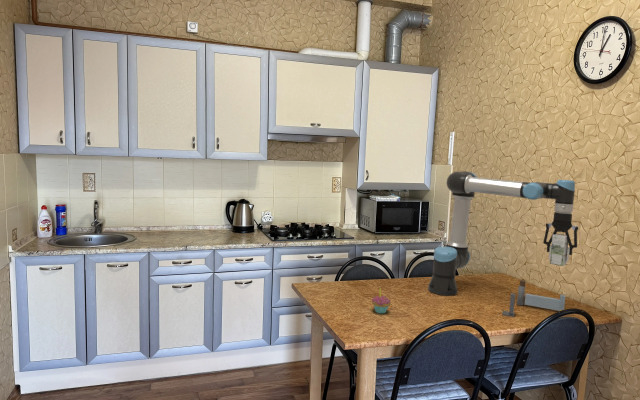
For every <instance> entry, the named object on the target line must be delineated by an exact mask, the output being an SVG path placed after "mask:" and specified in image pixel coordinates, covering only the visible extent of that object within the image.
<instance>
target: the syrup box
mask: <svg viewBox="0 0 640 400" xmlns="http://www.w3.org/2000/svg"><path fill="white" fill-rule="evenodd" d="M552 234H553V233H552ZM551 236H552V235H551ZM551 245H552V246H551V257H550V260H549V265H554V266H560V267H563V266H566V265H567V262H566V260H567V250H568V247H569V243H568V240H567V235H566V234H562V233H556V235H555V234H553V236H552V242H551Z"/></svg>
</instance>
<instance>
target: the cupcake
mask: <svg viewBox="0 0 640 400" xmlns="http://www.w3.org/2000/svg"><path fill="white" fill-rule="evenodd" d="M371 304H372V305H373V307H374V311H375V313H377V314H386V313H387V310H388V308H389V307H390V306H391V300H390V299H389V298H388V297H387V296H384V295H382V288H381V287H379V295H377V296H374V297H373V298H372V299H371Z"/></svg>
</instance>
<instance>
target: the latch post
mask: <svg viewBox="0 0 640 400" xmlns="http://www.w3.org/2000/svg"><path fill="white" fill-rule="evenodd" d="M515 301H516V293H513V292H511V293H510V301H509V311H507V310H502V313H501V315H502V316H506V317H511V318H514V317H515V312H514V311H515V303H516V302H515Z"/></svg>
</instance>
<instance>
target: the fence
mask: <svg viewBox="0 0 640 400" xmlns="http://www.w3.org/2000/svg"><path fill="white" fill-rule="evenodd" d="M519 286H524V287H525V288H526V280H523V279H520V280H519Z"/></svg>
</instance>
